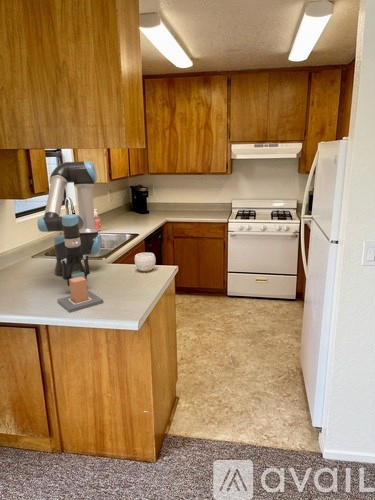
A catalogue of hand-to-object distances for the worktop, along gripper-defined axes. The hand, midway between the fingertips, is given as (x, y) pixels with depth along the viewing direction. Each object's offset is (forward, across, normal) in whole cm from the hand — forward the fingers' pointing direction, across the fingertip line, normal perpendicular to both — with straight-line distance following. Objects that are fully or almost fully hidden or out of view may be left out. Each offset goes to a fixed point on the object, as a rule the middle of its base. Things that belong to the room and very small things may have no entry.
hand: (78, 289), depth 182 cm
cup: (+1, +44, +6) cm, 44 cm away
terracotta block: (-1, -5, -15) cm, 16 cm away
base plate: (+1, -5, -15) cm, 16 cm away
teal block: (+1, 0, 0) cm, 1 cm away
